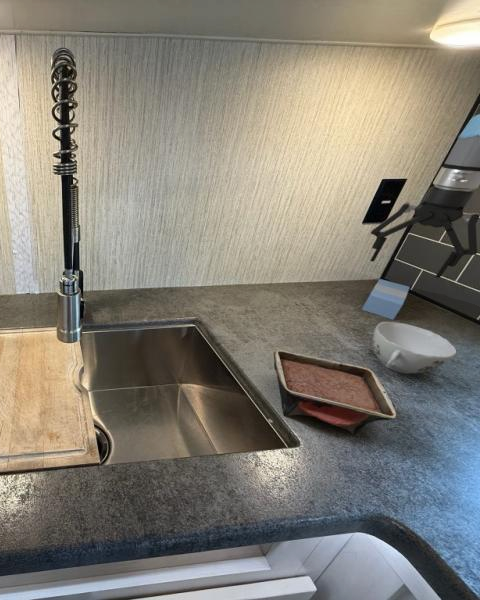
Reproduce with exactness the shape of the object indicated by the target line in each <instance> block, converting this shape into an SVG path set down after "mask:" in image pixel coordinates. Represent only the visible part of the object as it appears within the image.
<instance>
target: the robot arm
mask: <svg viewBox="0 0 480 600" xmlns="http://www.w3.org/2000/svg"><path fill="white" fill-rule="evenodd" d="M438 171H439V172H438V173H437V175H436V177H435V179H434V180H433V182H432V184H433V185H432V186H430V187H429V188H428V190H427V192H426V194H425V196H424V197H423V199H422V201H421V202H420V204H418V205H415V204H411V203H410V202H408V201H406V202H404V203H403V204H402V205H401V207H400V208H399V210H397V211H396V212H395V213H393V214H392V215H390V216H389V217H388V218H386V219H385V220H384V221H382V222H381V223H380V224H379V225H377V226H376V227H375V228H373V229H372V230H371V231H370V234H371V235H374V236H375V237H376V239H375V241H374V243H373V245H372V246H371V249H373V250H375V251H374V253H373V255H372V257H371V259H370V262H374V261H375V260H376V259H377V257H378V255H379V253H380V252H381V250H382V248H383V246H384V244H385V242H386V240H387V237H388V236H390V235H392V234H395V233H398V232H399V231H401V230H404V229H405V228H408V227H410V226H413V225H415V224H418V223H419V224H420V225H421V226H424V227H425V226H427V227H428V226H429V227H433V228H437V229H438V228H442V227H443V229H444V230H445V233H446V234H447V236H448V238H449V240H450V242H451V244H452V246H453V248H454V250H455V251H451V252H450V253H449V255H448V257H447V258H445V261H444V262H443V264H442V265H441V267H440V268H439V269H438V271H437V272H436V274H435V278H437V279H441V277H442V275H443V274H444V272H445V271H446V270H447V268H448V267H452V268H453V267H455V266H456V265H457V264H458V263H459V262H460V260H461V259H462V257H463V256H466V255H468V256H469V255H471V256H475V255H477V254H478V241H477V240H478V238H477V223H478V221H479V219H480V213H479V212H476V211H475V212H472V213H471V212H464V209H465V208H466V206H467V205H468V203H469V201H471V198H472V197H473V196H474V194H475V192H474V191H473V190H476V189H478V188H479V187H480V113H478V114H476V115H474V116H473V117H471V119H470V120H469V121H468V122H467V124H466V125H465V127H464V128H463V130H462V132H461V133H460V134H459V135H458V137H457V140H456V142H455V144H454V145H453V148H452V149H451V151H450V153H449V154H448V157H447V159H446V160H445V162H444V163H443V165H442V166H441V168H440V170H438ZM411 211H414V214H415V216H413V217H411V218H409V219H408V220H405V221H403V222H401V223H399V224H396V225H394V226H392V227H390V228H388V229H386V230H383V229H385V228H386V227H387V226H389V225H390V224H391V223H393V222H394V221H396V220H397V219H398V218H400V217H401V216H402V215H403V214H404V213H406V214H408V213H410V212H411ZM461 218H462V219H463V221H464V223H467V239H468V248H467V247H466V248H465V247H464V245H463V243H462V241H461V239H460V237H459V235H458V233H457V231H456V229H455V226H454V224H453V222H456V221H457V220H459V219H461ZM382 230H383V231H382Z"/></svg>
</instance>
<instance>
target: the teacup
mask: <svg viewBox="0 0 480 600" xmlns="http://www.w3.org/2000/svg"><path fill="white" fill-rule="evenodd" d="M372 347H373V351H374V353H375V355H376V357H377V358H378V359H379V361H380V363H381V364H382V365H383V366H384V367H385V368H387V369H389V370H391V371H393V372H396V373H400V374H407V375H409V374H420V373H421V374H422V373H426V372H430V371H433V370H436V369H438V368H440V367H441V366H443V365H445V364H446V363H448V362H450V360H451V359H453V357H455V356H456V355H457V350H456V347H455V346H454V345H452V343H451V342H449V340H448V339H446V338H444V337H443V336H441V335H439V334H437V333H434V332H433V331H431V330H429V329H424V328H421V327H419V326H415V325H411V324H408V323H402V322H401V323H400V322H395V321H382V322H379V323H378V324H377V325H376V327H375V329H374V331H373V335H372Z"/></svg>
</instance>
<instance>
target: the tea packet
mask: <svg viewBox="0 0 480 600" xmlns="http://www.w3.org/2000/svg"><path fill="white" fill-rule="evenodd" d="M409 291H410V286H407V285H404V284H400V283H396V282H394V281H389V280H385V279H381V278H379V279H378V281H377V283H376V284H375V286H374V287H373V288H372V290H371V292H370V294H369V295H368V298H367V299H366V301H365V303H364V304H363V306H362V308H361V310H362V311H364V312H367V313H371V314H374V315H376V316H380V317H383V318H385V319H388V320H392V321H393V320H394V319H395V318H396V316H397V314H398V313H399V312H400V310H401V308H402V307H403V305H404V303H405V301H406V298H407V297H408V293H409Z"/></svg>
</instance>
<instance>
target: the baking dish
mask: <svg viewBox="0 0 480 600" xmlns="http://www.w3.org/2000/svg"><path fill="white" fill-rule="evenodd" d="M273 359H274V360H273V361H274V362H273V367H274V370H275V373H276V377H277V383H278V387H279V394H280V401H281V402H280V403H281V409H282V415H283V417H288V416H304V417H305V416H306V417H315V418H316V419H317V420H319V421H322V422H324V423H326V424H328V425H331V426H336V427H339V428H341V429H344V430H347V431H349V432H350V433H351V434H353V435H354V436H356V435H357V434H358V433H359V432H360V431H361V430H362V429H363V428H364V427H365V426H366V425H368V424H369V423H374V422H379V421H389V420H395V419H396V418H397V416H398V415H397V414H398V413H397V409H396V404H394V402H393V401H392V398H391V397H390V394H389V393H388V390H387V389H386V388H385V385H384V384H383V383H382V382H381V381H380V379H379V378H378V377H377V375H376V374H375V372H373V371H372V370H371V369H369V368H368V367H364V366H360V365H357V364H350V363H345V362H339V361H335V360H331V359H325V358H321V357H316V356H311V355H307V354H301V353H296V352H292V351H287V350H281V349H278V350H277V349H276V350H275V351H274V352H273Z"/></svg>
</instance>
